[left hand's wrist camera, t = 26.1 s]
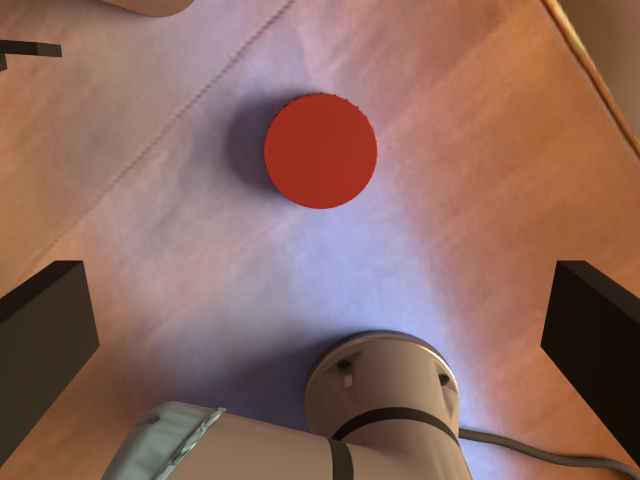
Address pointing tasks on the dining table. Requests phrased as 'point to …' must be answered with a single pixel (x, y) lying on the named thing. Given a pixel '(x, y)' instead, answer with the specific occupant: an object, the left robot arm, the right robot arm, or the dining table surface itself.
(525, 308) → the dining table surface
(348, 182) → the lid
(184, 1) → the jar
